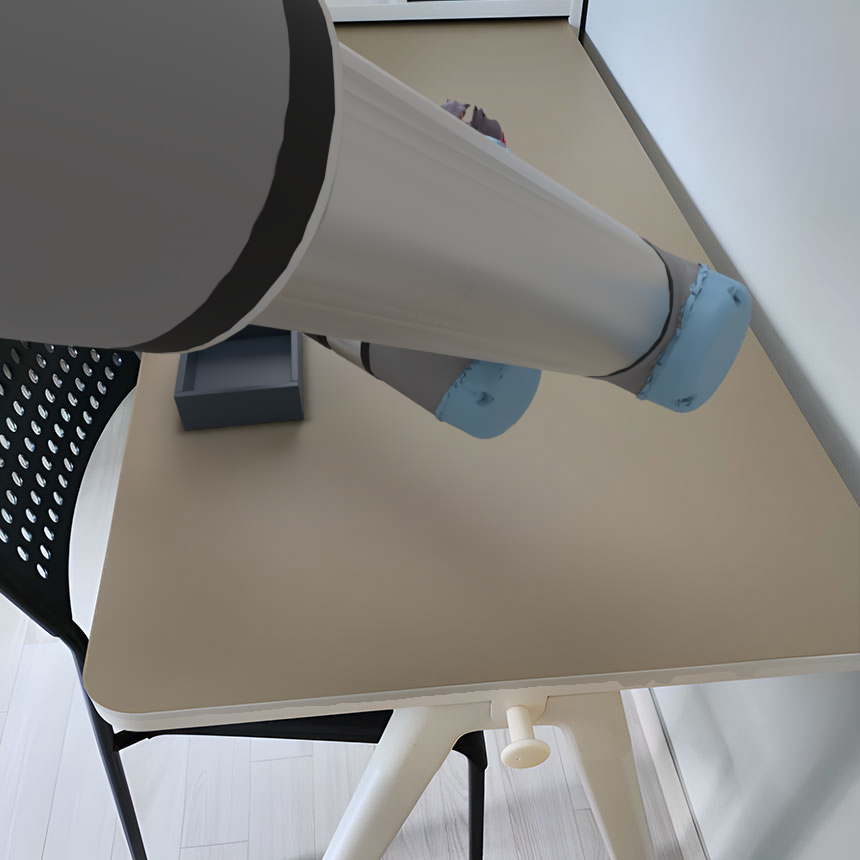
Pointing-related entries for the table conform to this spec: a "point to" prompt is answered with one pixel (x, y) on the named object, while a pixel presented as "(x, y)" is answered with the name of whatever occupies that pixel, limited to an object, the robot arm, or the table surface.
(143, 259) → the robot arm
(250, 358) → the open box
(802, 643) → the table surface
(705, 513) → the table surface
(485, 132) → the hatching egg
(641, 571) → the table surface
